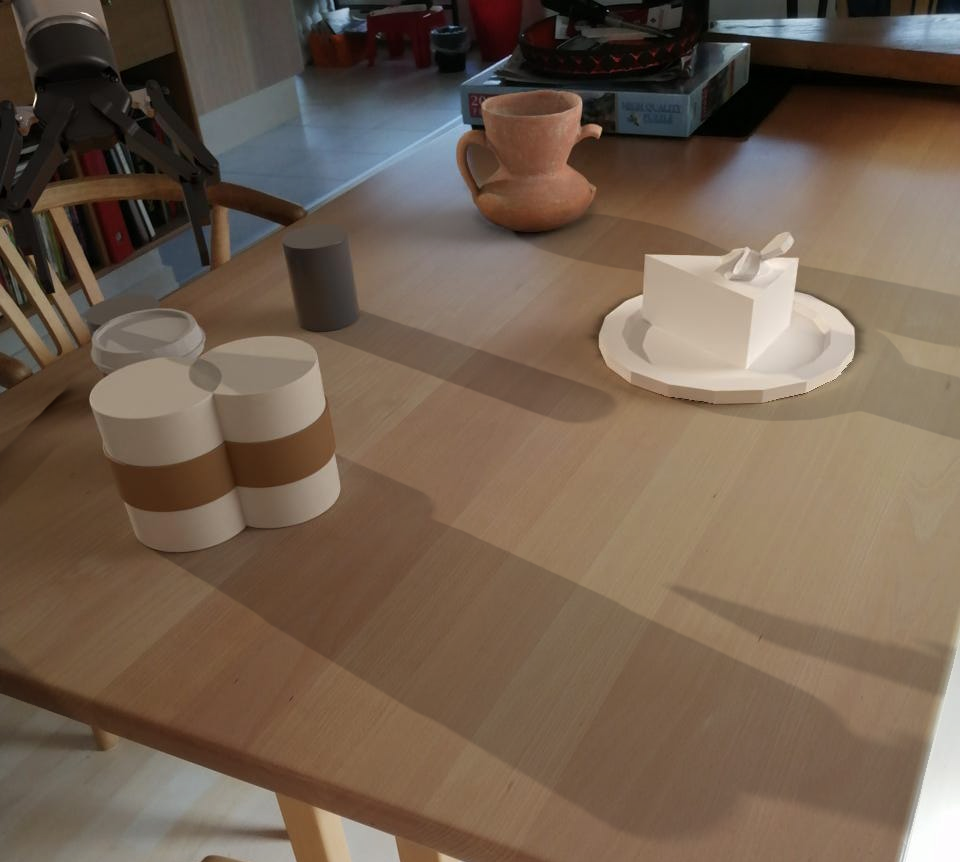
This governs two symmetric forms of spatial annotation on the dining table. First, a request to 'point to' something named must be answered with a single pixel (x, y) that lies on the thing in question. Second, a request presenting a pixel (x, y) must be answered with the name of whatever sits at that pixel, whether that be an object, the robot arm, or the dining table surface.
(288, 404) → the white banded double cylinder
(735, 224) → the dining table surface
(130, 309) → the grey tumblers
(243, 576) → the dining table surface
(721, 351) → the white wedge on plate
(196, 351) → the disposable coffee cup
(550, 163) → the ceramic jug
